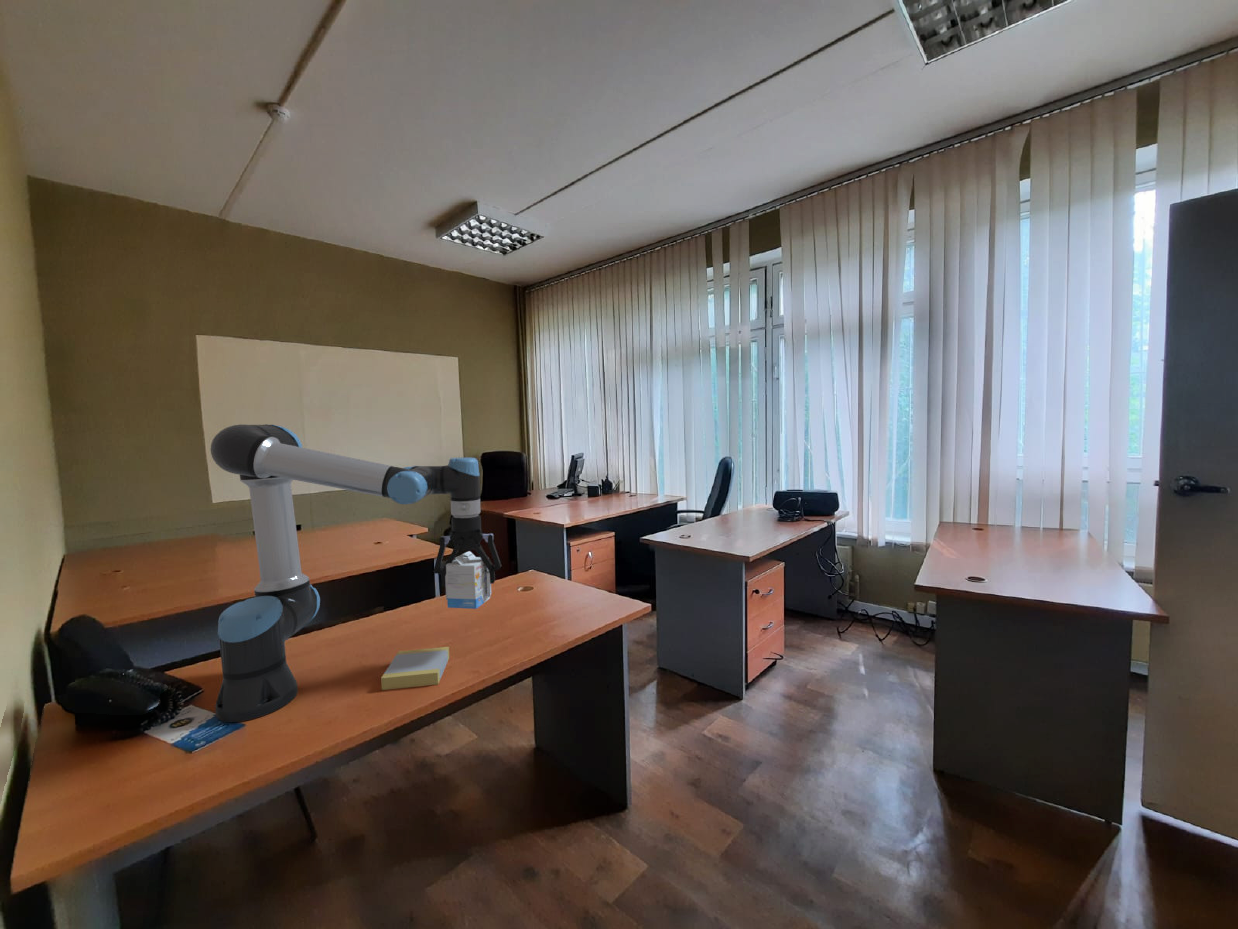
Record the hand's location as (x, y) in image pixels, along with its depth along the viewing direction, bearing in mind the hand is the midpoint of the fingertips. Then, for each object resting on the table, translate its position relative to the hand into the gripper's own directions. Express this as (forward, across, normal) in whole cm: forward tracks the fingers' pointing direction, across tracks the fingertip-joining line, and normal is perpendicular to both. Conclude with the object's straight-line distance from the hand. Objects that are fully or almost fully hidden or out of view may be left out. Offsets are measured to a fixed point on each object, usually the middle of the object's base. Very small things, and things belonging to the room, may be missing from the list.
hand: (469, 596), depth 128 cm
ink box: (+2, 0, 0) cm, 2 cm away
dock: (+17, -13, -5) cm, 22 cm away
